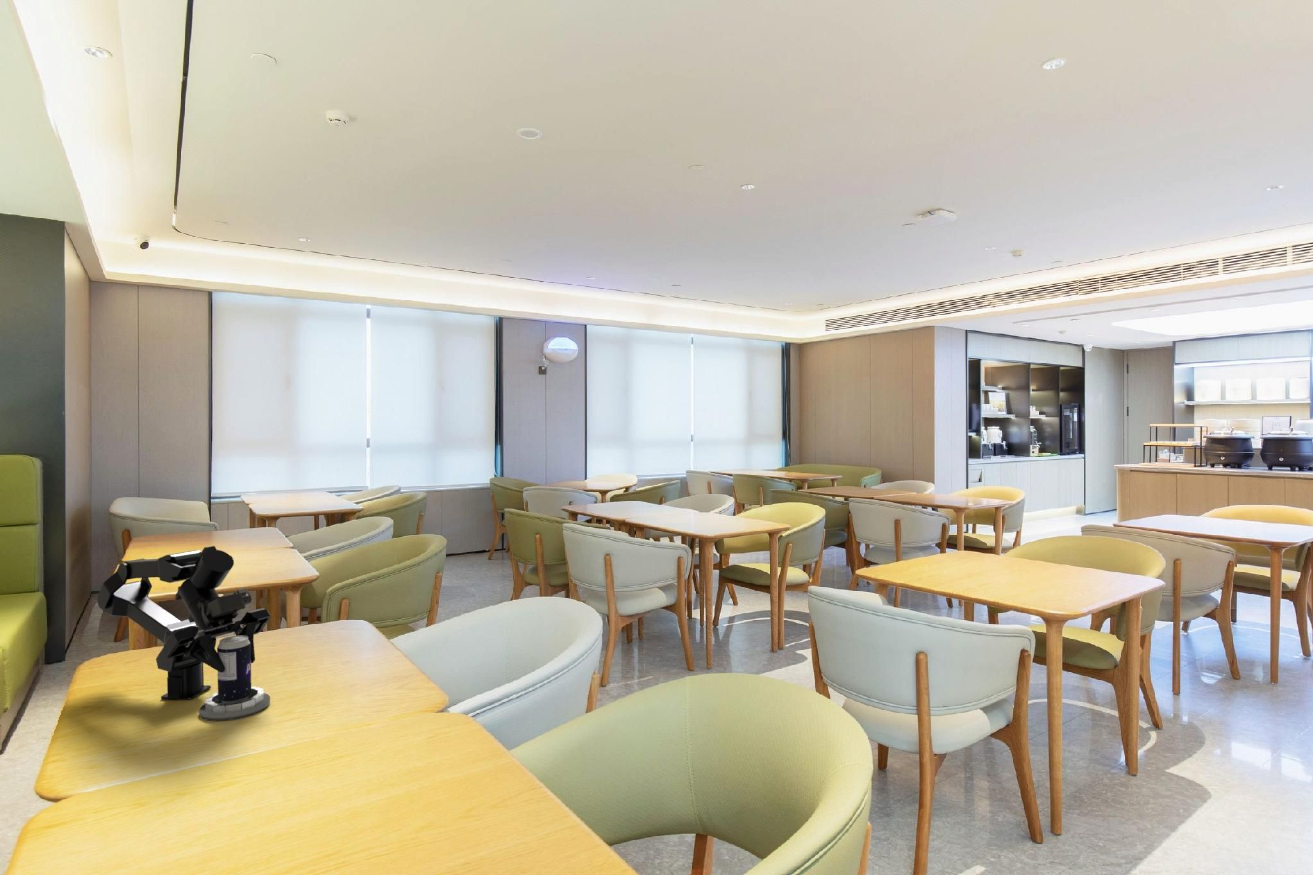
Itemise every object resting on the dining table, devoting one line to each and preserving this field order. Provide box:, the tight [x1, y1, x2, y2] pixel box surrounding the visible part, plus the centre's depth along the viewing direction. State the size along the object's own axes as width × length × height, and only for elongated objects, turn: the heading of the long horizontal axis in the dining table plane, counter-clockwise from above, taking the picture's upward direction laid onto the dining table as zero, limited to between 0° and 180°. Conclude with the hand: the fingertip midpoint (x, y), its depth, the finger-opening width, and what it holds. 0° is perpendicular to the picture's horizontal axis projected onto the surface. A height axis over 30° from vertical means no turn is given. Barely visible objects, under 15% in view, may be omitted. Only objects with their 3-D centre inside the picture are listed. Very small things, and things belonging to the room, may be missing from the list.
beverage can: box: [216, 635, 252, 704], centre depth 143 cm, size 6×6×12 cm
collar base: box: [198, 686, 271, 722], centre depth 143 cm, size 12×12×2 cm
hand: (238, 666), depth 142 cm, fingers open, 6 cm apart
